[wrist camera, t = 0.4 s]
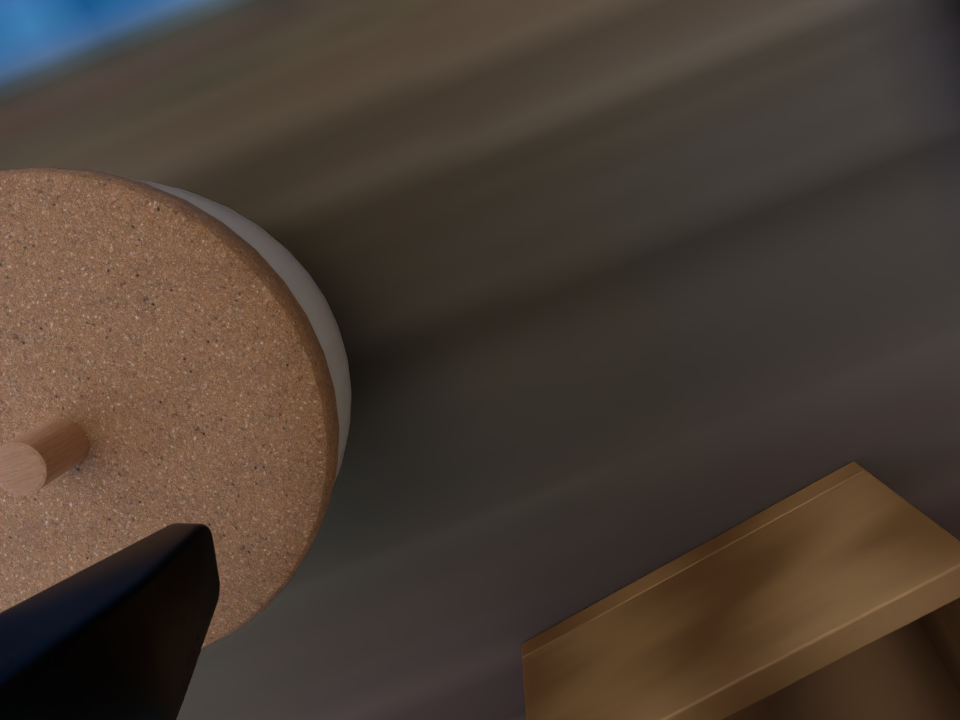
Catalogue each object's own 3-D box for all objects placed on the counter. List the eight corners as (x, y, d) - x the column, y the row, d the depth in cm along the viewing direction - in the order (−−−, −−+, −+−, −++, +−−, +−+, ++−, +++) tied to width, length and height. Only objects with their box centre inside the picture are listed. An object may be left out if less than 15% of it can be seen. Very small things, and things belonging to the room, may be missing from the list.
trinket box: (-33, 240, 22) (-397, 277, 13) (310, 123, 21) (175, 76, 12) (115, 562, 25) (-108, 784, 15) (431, 467, 24) (393, 643, 15)
